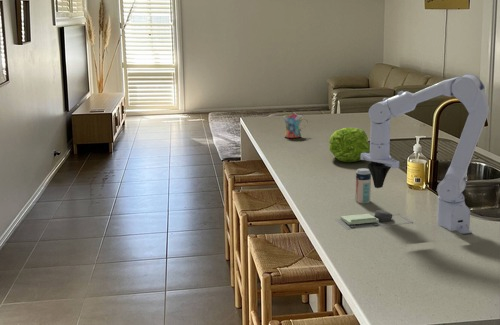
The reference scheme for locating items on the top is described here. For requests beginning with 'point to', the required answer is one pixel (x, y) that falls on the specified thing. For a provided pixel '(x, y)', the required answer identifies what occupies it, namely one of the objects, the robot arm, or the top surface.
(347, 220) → the cover
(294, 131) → the mug
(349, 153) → the lettuce
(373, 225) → the grey ball tray
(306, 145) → the top surface
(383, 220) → the dark grey pebble
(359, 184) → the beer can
